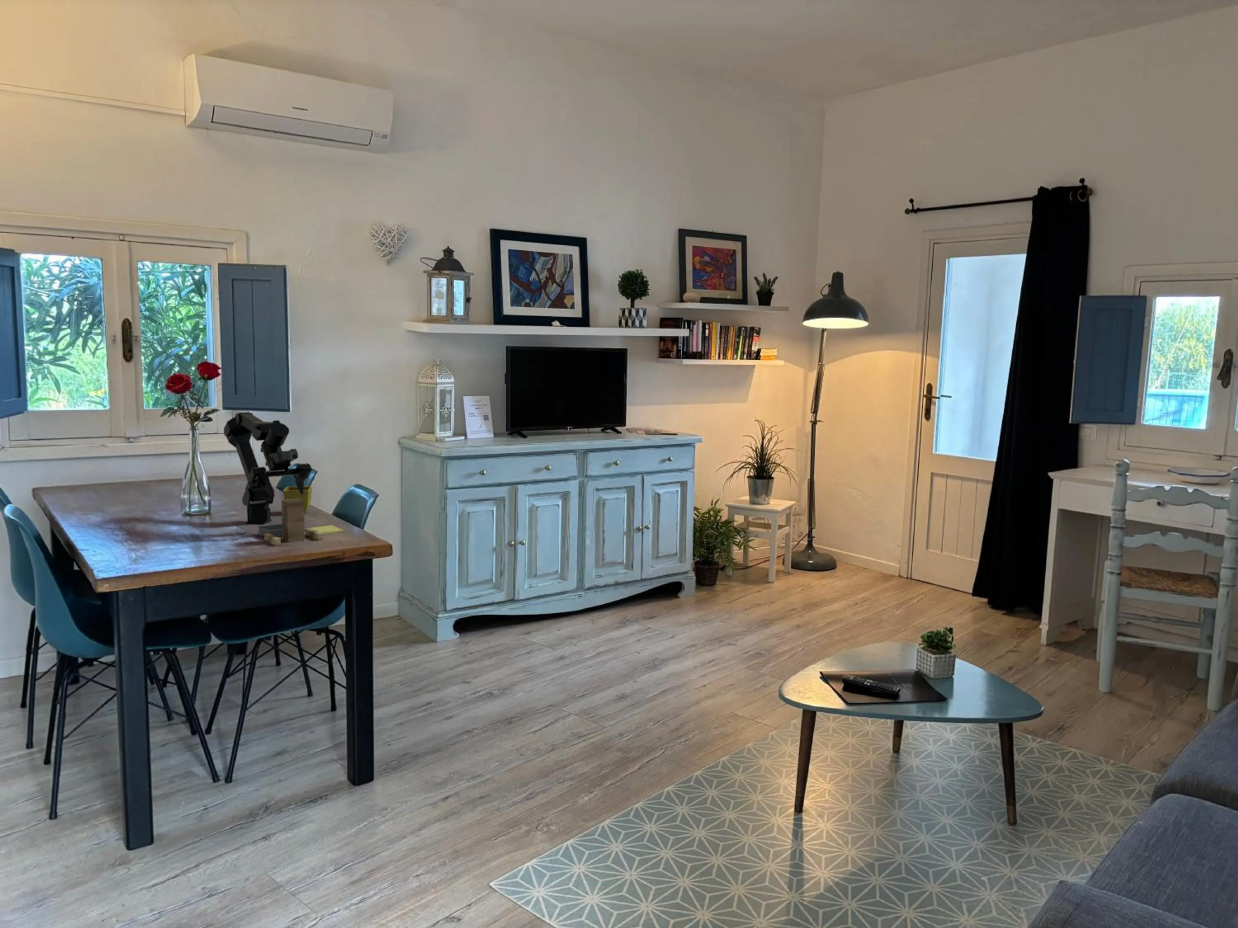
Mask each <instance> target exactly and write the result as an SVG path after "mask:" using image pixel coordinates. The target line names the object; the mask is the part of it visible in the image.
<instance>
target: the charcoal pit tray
mask: <svg viewBox="0 0 1238 928" xmlns="http://www.w3.org/2000/svg"><path fill="white" fill-rule="evenodd" d="M257 527H258V535H260V534H261V535H262V536H261V535H260V536H261V537H263V536H264V534H266V533H270V534H272V535H274V536H276V537H281V538H283V530H282V523H277V524H274V523H273V524H267V525H259V526H257Z"/></svg>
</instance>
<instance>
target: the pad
mask: <svg viewBox="0 0 1238 928" xmlns="http://www.w3.org/2000/svg"><path fill="white" fill-rule="evenodd" d="M308 528H309V527H307V528H305V527H304V531H306V529H308ZM310 528H311V529H313V530H316V531H318V532H320V533H322V534H323V535H327V534H335V533H342V532H344V529H341V528H339V527H336V525H335V526H334V525H332V524H331V525H326V526H325V525H324V526H316V527H315V526H314V527H310Z"/></svg>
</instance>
